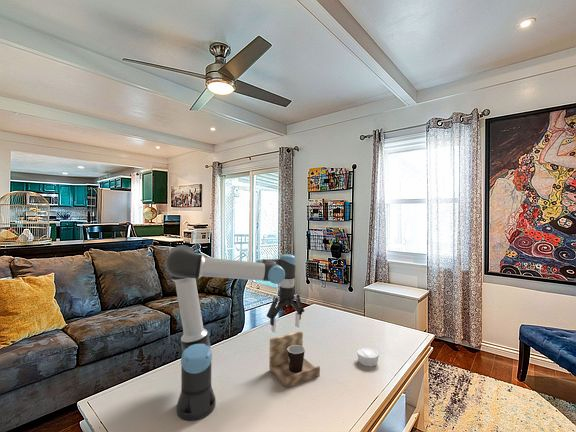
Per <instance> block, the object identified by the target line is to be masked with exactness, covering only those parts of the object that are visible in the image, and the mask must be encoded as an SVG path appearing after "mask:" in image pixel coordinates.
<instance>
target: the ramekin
mask: <svg viewBox="0 0 576 432" xmlns="http://www.w3.org/2000/svg"><path fill="white" fill-rule="evenodd" d="M356 354H357V359H358V362H359V363H360V364H361V365H363V366H365V367H368V366H369V367H371V368H372V367H375V366H376V365H377V364H378V361H379V357H380V353H379V352H378V351H377V350H376V349H374V348H370V347H360V348H359V349H357V351H356ZM369 367H368V368H369Z"/></svg>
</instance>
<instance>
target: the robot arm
mask: <svg viewBox="0 0 576 432" xmlns="http://www.w3.org/2000/svg"><path fill="white" fill-rule="evenodd" d="M165 269H166V270H167V272H168V273H169V275H170V280H171V281H172V282H174V283H175V290H176V295H177V302H178V307H179V312H180V320H181V325H182V331H183V332H182V333H183V334H182V336H181V337H180V342H181V348H182V354H181V357H180V365H181V370H180V371H181V372H180V373H181V375H180V376H181V377H180V379H181V381H180V382H181V386H180V387H181V391H180V393H179V397H178V400H177V402H176V403H177V404H176V415H177V416H178V417H179V418H180V419H182V420H184V421H198V420H201V419H204V418H205V417H208V416H209V415H210V414H211V413H212V412H213V411H214V410H215V408H216V403H217V402H216V399H217V398H216V395H215V392H214V389H213V387H212V386H213V385H212V360H213V355H212V354H213V353H212V349H211V341H210V339H209V332H208V329H206V328H204V323H203V316H202V311H201V305H200V299H199V293H198V286H197V279H199V280H200V278H202V277H208V278H210V277H211V278H224V279H232V280H233V279H237V280H247V281H248V280H249V281H250V280H251V281H263V282H270V283H271V284H276V285H279V286H278V287H279V288H278V289H279V290H278V293H279V296H278V297H276V296H273V299H272V302H271V305H270V307H269V308H268V311H267V314H266V317H267V318H268V319H270V320H269V324H270V325H271V327H270V328H271V329H270V330H271V332H272V333H274V334H275V333H276V324H277V322H276V321H277V320H276V319H277V318H276V316H278V314H279V312H280V311H281V309H282V308H283V307H286V306H292V308H293V309H294V310H295V315H294V316H295V319H294V320H295V323H294V326H295V327H296V328H300V321H301V318H302V315H303V313H304V312H305V308H304V306H303V304H302V301H301V299H300V298H301V297H300V295H299V294H297V293H295V289H296V288H295V279H296V257H295V255H293V254H289V253H288V254H287V253H285V254H281V255H280V257H279V258H273V259H272V258H271V259H270V258H267V259H265V258H263V259H257V260H256V262H255V261H245V260H236V259H235V260H234V259H233V260H232V259H224V258H214V257H213V258H211V257H205V256H204V254H198V253H196V252H195V250H194V249H193V248H192V247H190V246H188V245H177V246H175V247H173V248H172V249H171V250H170V251H169V253H168V255H167V257H166V258H165ZM294 300H295V302H294Z"/></svg>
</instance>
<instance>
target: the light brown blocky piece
mask: <svg viewBox="0 0 576 432" xmlns="http://www.w3.org/2000/svg"><path fill="white" fill-rule="evenodd" d="M303 333H304V331H302V330H297V331H295V332H292V333H291V332H290V333H287V334H283V335H279V336H275V337H272V338H269V371H270V373H271V374H272V375H273V377H275V378H276V379H277V380H278V381H279V382H280V384H282V385H283V386H284V387H285V389H288V388H291V387H294V386H297V385H299V384H301V383H304V382H307V381H309V380H311V379H314V378H318V377H320V375H321V373H320V372H321V369H320V365H317V366H315V365H313V364H312V363H311V362H309V360H307V359H306V358H304V360H303V368H302V371H301V372H299V373H293V372H291V371H290V370H289V362H288V352H287V348H288V347H289V346H292V345H300V346H302V347H304V346H303V343H304V342H303V337H304V335H303Z"/></svg>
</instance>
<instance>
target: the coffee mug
mask: <svg viewBox="0 0 576 432" xmlns="http://www.w3.org/2000/svg"><path fill="white" fill-rule="evenodd" d="M305 351H306V348H305V347H304V346H303V347H302V346H300V345H292V346H289V347H288V348H287V352H288V362H289V370H290V371H291V372H293V373H299V372H301V371H302V368H303V360H304V359H305Z"/></svg>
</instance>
